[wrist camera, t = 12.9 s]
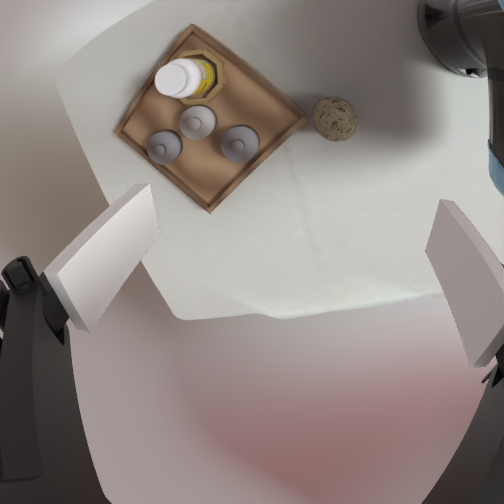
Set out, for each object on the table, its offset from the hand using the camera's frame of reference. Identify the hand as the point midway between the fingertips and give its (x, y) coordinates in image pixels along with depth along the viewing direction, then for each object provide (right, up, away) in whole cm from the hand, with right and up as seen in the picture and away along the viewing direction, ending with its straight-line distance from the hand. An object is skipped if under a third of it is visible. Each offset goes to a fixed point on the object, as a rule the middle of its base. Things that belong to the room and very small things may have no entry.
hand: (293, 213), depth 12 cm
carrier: (-9, +19, +28) cm, 35 cm away
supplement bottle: (-9, +24, +23) cm, 34 cm away
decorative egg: (+10, +18, +25) cm, 32 cm away
